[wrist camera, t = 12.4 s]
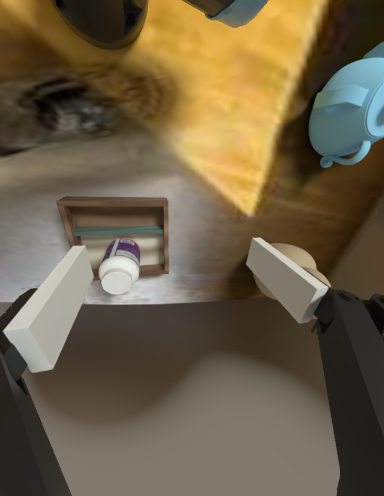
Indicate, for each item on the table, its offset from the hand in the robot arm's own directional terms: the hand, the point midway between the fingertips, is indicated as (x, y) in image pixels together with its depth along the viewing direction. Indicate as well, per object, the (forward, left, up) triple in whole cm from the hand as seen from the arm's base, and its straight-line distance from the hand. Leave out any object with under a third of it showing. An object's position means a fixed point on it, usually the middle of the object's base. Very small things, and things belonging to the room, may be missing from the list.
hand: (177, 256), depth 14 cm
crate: (+12, -9, -32) cm, 35 cm away
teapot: (-19, +44, -32) cm, 58 cm away
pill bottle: (+15, -9, -31) cm, 36 cm away
